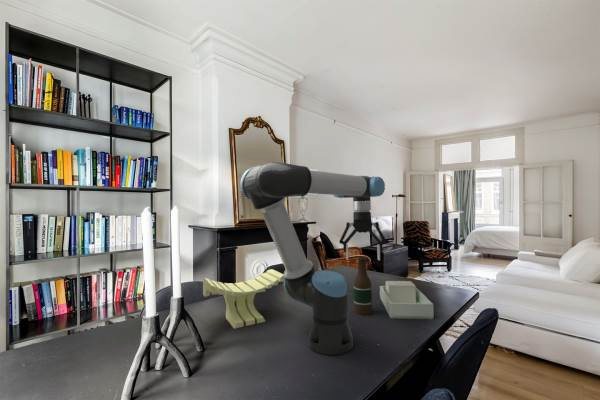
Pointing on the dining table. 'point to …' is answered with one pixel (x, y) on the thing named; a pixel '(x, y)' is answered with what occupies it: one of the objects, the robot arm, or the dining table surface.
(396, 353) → the dining table surface
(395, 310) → the tote
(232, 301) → the slatted curved stool
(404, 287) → the off-white rectangular block
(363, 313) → the beer bottle
